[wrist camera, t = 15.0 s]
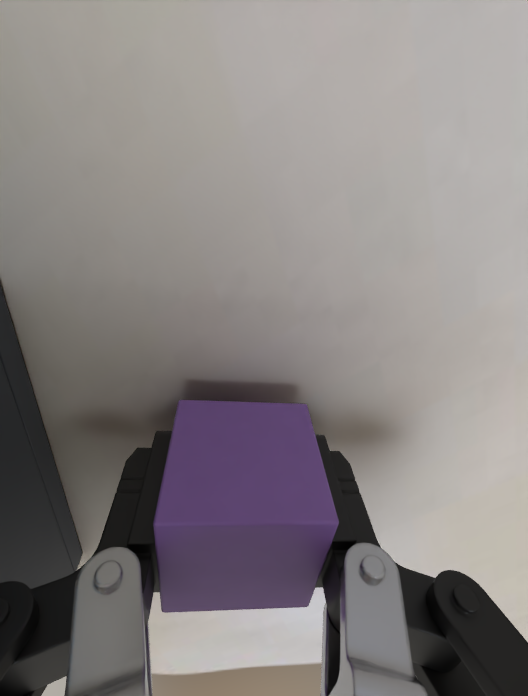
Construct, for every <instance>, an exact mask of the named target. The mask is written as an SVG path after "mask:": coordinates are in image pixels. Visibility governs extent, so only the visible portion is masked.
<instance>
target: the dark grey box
mask: <svg viewBox="0 0 528 696" xmlns="http://www.w3.org/2000/svg"><path fill="white" fill-rule="evenodd" d="M81 556H82V550H81V547H80V544H79V541H78V537H77V534H76V531H75V527H74V524H73V521H72V518H71V514H70V511H69V508H68V505H67V501H66V498H65V495H64V491H63V488H62V485H61V482H60V478H59V475H58V472H57V469H56V465H55V462H54V459H53V455H52V452H51V449H50V446H49V442H48V439H47V436H46V432H45V429H44V426H43V423H42V419H41V416H40V413H39V410H38V406H37V403H36V400H35V396H34V393H33V390H32V387H31V383H30V380H29V377H28V374H27V370H26V367H25V364H24V360H23V357H22V354H21V351H20V347H19V344H18V341H17V337H16V334H15V331H14V328H13V324H12V321H11V318H10V315H9V311H8V308H7V305H6V301H5V298H4V295H3V292H2V288H1V285H0V583H3V582H7V581H18V582H22V583H24V584H26V585H27V586H28V587H29V588H30V589H33V588H35V587H38V586H41V585H44V584H47V583H50V582H53V581H55V580H58V579H61V578H64V577H66V576H68V575H70V574H72V573H74V572H75V571H76V570H77V567H78V564H79V562H80V559H81Z"/></svg>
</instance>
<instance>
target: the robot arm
mask: <svg viewBox="0 0 528 696" xmlns="http://www.w3.org/2000/svg"><path fill="white" fill-rule="evenodd" d="M171 434H172V431H156V433H155V436H154V440H153V444H152V448H137V449H136V450H135V451H134V452H133V454H132V455H131V456H130V457H129V458H128V459H127V461H126V463H125V466H124V469H123V472H122V475H121V480H120V481H119V485H118V488H117V493H116V494H115V497H114V500H113V503H112V506H111V509H110V512H109V515H108V518H107V521H106V525H105V528H104V531H103V534H102V537H101V540H100V543H99V545H98V548H97V549H96V551H95V553H94V554H93V556H92V557H91V558H90V559H89V560H88V561H87V562H86V563H85V564H84V565H83V566H82V567H81V568H80V569H78V570H77V571H75V572H74V573H72V574H70V575H68V576H66V577H64V578H61V579H58V580H55V581H53V582H50V583H47V584H44V585H41V586H38V587H35V588H33V589H30V588H29V587H28V586H27V585H26V584H24V583H22V582H18V581H7V582H3V583H0V696H41V695H42V693H43V691H44V690H45V688H46V686H47V685H48V684H50V683H52V682H54V681H56V680H59V679H61V678H63V677H65V676H67V679H66V689H65V696H153V695H152V694H153V693H152V677H151V660H150V643H149V627H148V620H149V615H150V609H151V603H152V597H153V592H160V589H159V578H158V568H157V558H156V547H155V537H154V527H153V522H154V517H155V512H156V507H157V502H158V497H159V493H160V488H161V483H162V478H163V473H164V468H165V463H166V459H167V454H168V449H169V444H170V439H171ZM315 436H316V440H317V444H318V447H319V451H320V455H321V458H322V462H323V466H324V469H325V473H326V477H327V480H328V484H329V488H330V491H331V495H332V499H333V502H334V506H335V510H336V513H337V517H338V521H339V524H338V527H337V530H336V532H335V535H334V538H333V541H332V543H331V546H330V549H329V551H328V554H327V557H326V559H325V562H324V565H323V568H322V570H321V573H320V576H319V578H318V581H317V584H316V587H323V589H324V594H325V599H326V603H325V606H324V611H323V639H322V670H321V696H528V642H527V641H526V640H525V639H524V638H523V636H522V635H521V634H520V633H519V632H518V630H517V629H516V628H515V627H514V626H513V624H512V623H511V622H510V621H509V620H508V618H507V617H506V616H505V615H504V614H503V612H502V611H501V610H500V609H499V608H498V606H497V605H496V604H495V603H494V602H493V601H492V599H491V598H490V597H489V596H488V595H487V593H486V592H485V591H484V590H483V589H482V588H481V587H480V585H479V584H477V583H476V582H475V581H474V580H473V579H471V578H470V577H468V576H467V575H465V574H463V573H460V572H457V571H453V570H447V571H443V572H441V573H440V574H438V576H437V577H436V578H433V577H430V576H427V575H424V574H421V573H418V572H415V571H412V570H409V569H406V568H404V567H402V566H400V565H398V564H397V563H395V562H394V561H393V559H392V558H391V557H390V556H389V555H388V553H386V552H385V551H384V550H383V549H382V548H381V547H380V545H379V543H378V541H377V539H376V536H375V533H374V531H373V528H372V525H371V522H370V519H369V516H368V514H367V511H366V508H365V505H364V502H363V500H362V497H361V494H360V493H359V488H358V485H357V483H356V481H355V477H354V474H353V471H352V469H351V466H350V464H349V462H348V461H347V460H346V459H345V457H344V456H343V455H342V454H341V453H340V451H329V448H328V445H327V441H326V438H325V436H324V435H315ZM316 587H315V588H316ZM415 675H416V676H415ZM416 677H417V678H418V679H417V678H416Z"/></svg>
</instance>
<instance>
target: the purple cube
mask: <svg viewBox="0 0 528 696" xmlns="http://www.w3.org/2000/svg"><path fill="white" fill-rule="evenodd" d="M338 524H339V521H338V517H337V513H336V510H335V506H334V502H333V499H332V495H331V491H330V488H329V484H328V480H327V477H326V473H325V469H324V466H323V462H322V458H321V455H320V451H319V447H318V444H317V440H316V436H315V433H314V429H313V425H312V422H311V418H310V414H309V411H308V407H307V405H306V404H293V403H263V402H233V401H203V400H179V402H178V405H177V410H176V415H175V420H174V424H173V429H172V434H171V439H170V444H169V449H168V454H167V459H166V463H165V468H164V473H163V478H162V483H161V488H160V493H159V497H158V502H157V507H156V512H155V517H154V522H153V527H154V537H155V547H156V558H157V568H158V578H159V589H160V599H161V609H162V612H188V611H214V610H240V609H266V608H292V607H307V606H309V603H310V600H311V597H312V595H313V592H314V589H315V587H316V584H317V581H318V578H319V576H320V573H321V570H322V568H323V565H324V562H325V559H326V557H327V554H328V551H329V549H330V546H331V543H332V541H333V538H334V535H335V532H336V530H337V527H338Z"/></svg>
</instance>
